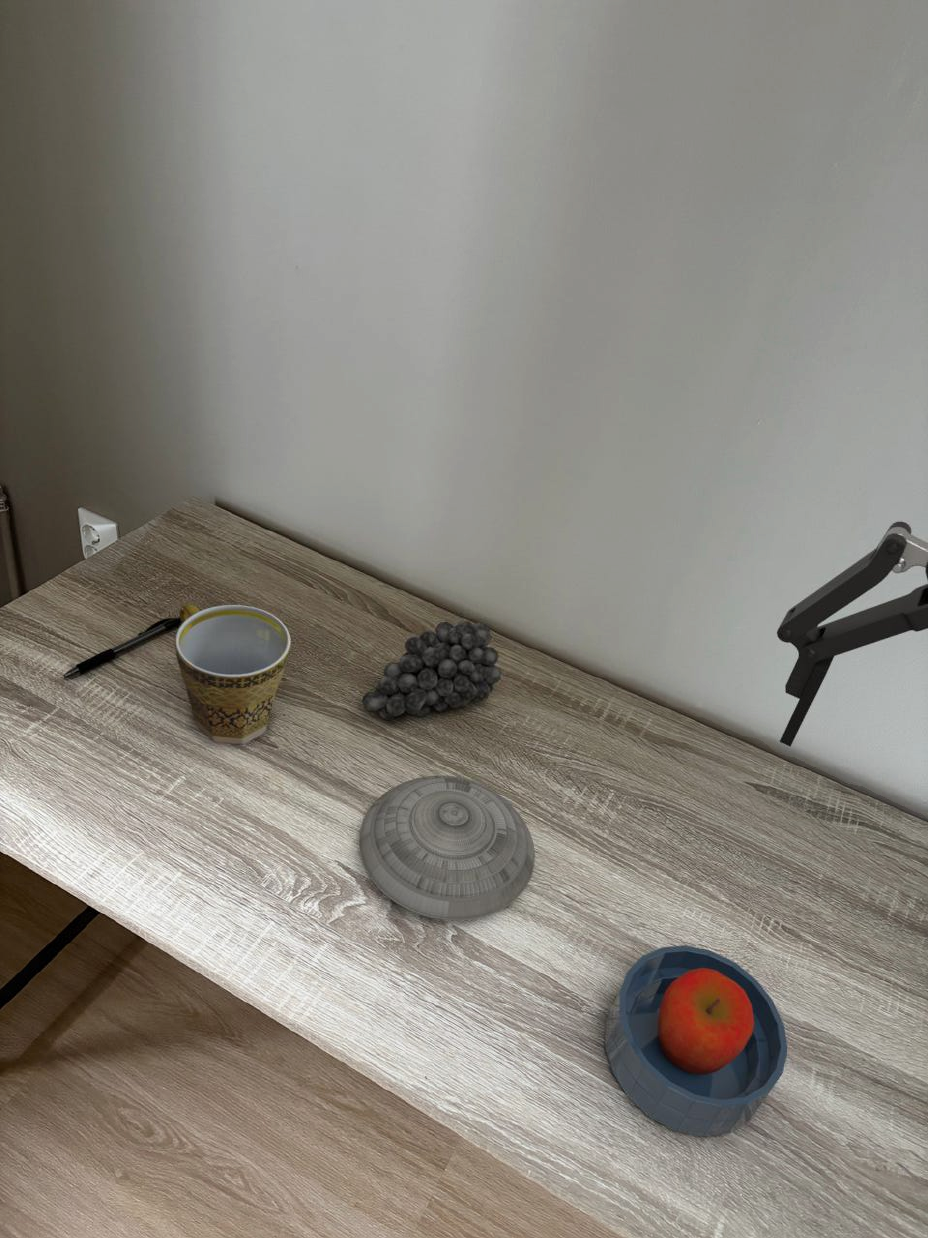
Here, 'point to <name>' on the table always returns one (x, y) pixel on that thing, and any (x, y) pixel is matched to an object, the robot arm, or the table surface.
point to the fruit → (438, 672)
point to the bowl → (671, 1090)
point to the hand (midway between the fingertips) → (891, 780)
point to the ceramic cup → (231, 668)
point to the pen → (124, 646)
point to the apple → (704, 1021)
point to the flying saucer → (447, 848)
